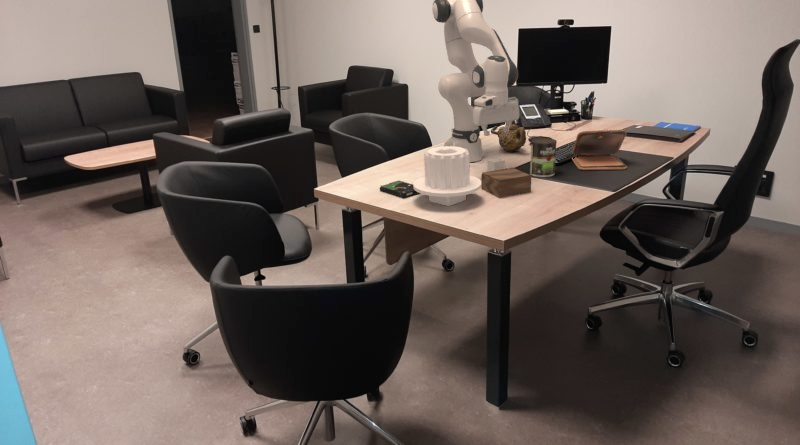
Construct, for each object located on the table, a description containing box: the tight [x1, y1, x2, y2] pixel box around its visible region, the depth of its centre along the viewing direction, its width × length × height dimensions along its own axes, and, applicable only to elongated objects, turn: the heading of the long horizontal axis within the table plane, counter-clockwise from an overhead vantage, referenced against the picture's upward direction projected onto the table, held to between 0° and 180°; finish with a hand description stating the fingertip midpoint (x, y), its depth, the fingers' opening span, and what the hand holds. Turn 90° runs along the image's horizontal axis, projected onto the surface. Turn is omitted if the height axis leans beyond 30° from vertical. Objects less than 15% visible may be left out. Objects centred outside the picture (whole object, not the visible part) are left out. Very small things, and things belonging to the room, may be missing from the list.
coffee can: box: [529, 137, 557, 178], centre depth 259 cm, size 10×10×14 cm
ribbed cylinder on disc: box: [413, 145, 481, 207], centre depth 230 cm, size 25×25×19 cm
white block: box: [486, 157, 506, 172], centre depth 256 cm, size 5×5×8 cm
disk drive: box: [379, 180, 422, 199], centre depth 246 cm, size 10×3×15 cm
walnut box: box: [480, 167, 532, 199], centre depth 241 cm, size 13×14×7 cm
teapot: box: [496, 120, 527, 153], centre depth 296 cm, size 21×12×15 cm, turn 25°
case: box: [571, 129, 628, 171], centre depth 269 cm, size 20×21×16 cm
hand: (496, 133), depth 250 cm, fingers open, 8 cm apart
